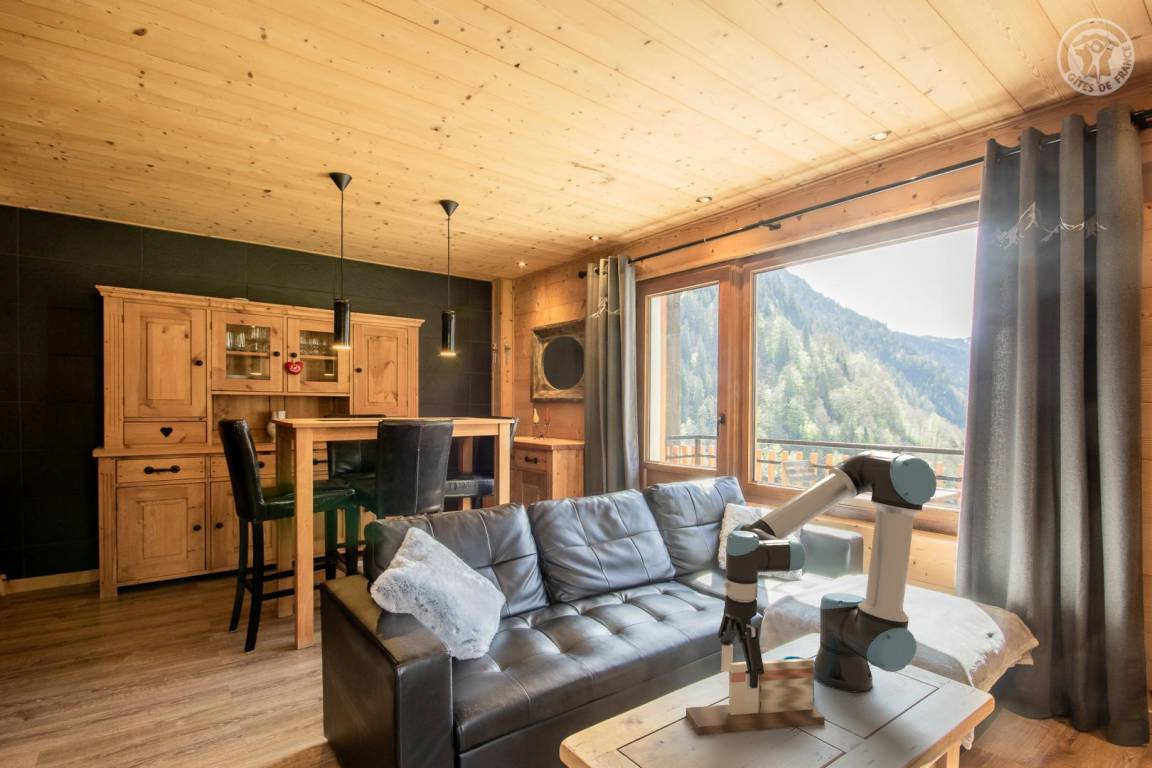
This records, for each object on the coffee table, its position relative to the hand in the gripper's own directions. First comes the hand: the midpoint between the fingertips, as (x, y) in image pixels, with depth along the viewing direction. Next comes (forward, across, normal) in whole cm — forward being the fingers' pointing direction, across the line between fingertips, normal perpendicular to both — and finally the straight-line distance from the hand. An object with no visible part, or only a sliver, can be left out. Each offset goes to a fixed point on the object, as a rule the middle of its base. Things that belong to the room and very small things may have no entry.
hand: (738, 684), depth 139 cm
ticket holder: (+9, 0, +4) cm, 10 cm away
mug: (+9, -12, +22) cm, 26 cm away
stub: (+7, 0, +1) cm, 7 cm away
